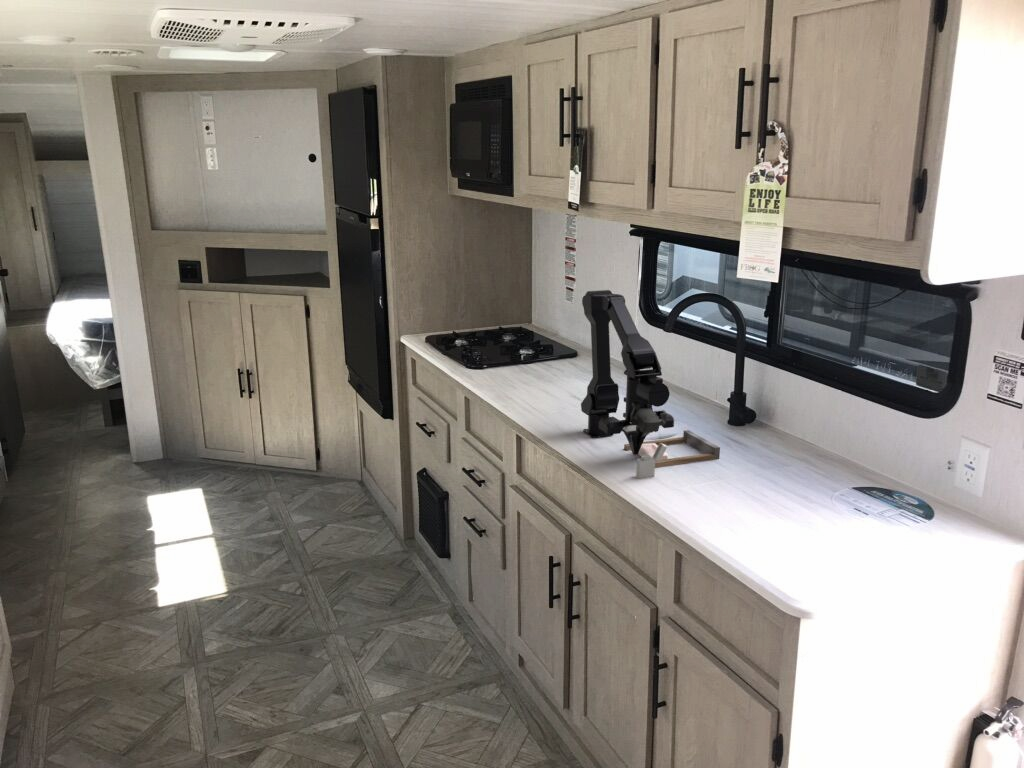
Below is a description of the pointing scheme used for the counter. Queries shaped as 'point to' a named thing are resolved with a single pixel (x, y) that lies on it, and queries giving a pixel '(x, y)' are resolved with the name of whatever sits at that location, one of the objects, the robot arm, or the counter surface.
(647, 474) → the lighter
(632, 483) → the counter surface
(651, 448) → the soap bar
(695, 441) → the guide channel
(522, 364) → the counter surface
